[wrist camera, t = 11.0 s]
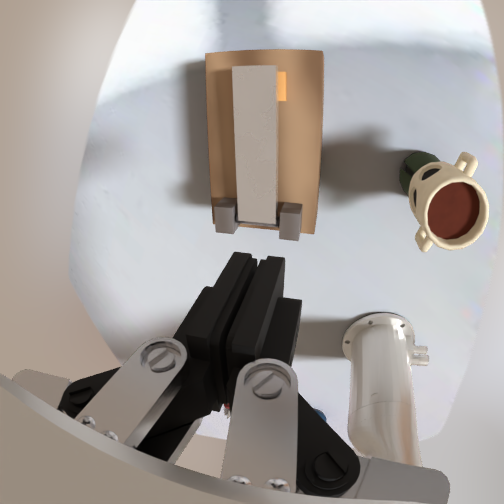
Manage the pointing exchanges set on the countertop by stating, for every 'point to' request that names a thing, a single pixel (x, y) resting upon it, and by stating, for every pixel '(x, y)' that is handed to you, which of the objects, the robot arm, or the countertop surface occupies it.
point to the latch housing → (289, 136)
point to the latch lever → (256, 143)
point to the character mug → (445, 200)
